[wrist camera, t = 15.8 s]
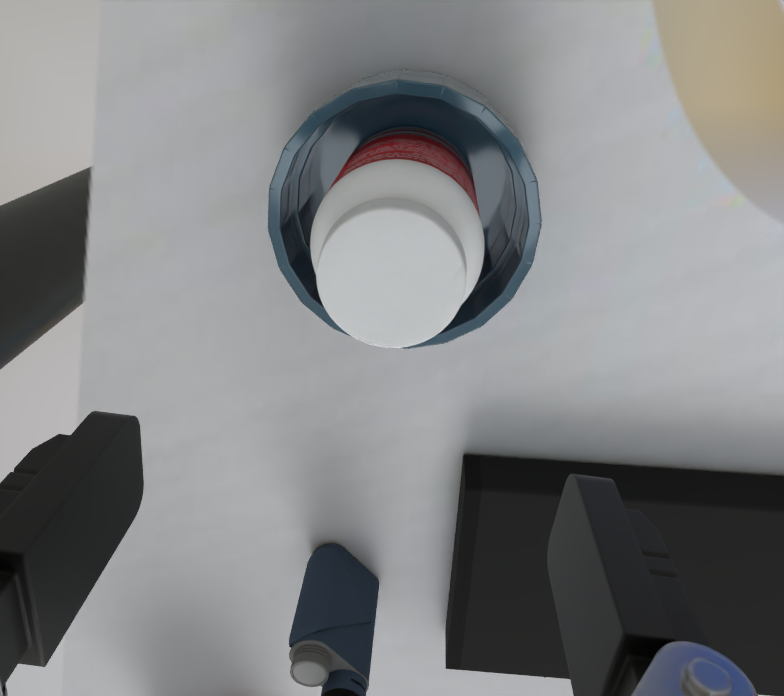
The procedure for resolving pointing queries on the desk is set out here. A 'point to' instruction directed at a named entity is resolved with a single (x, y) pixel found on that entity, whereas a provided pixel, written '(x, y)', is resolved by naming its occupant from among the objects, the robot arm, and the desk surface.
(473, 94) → the blue-grey round tub
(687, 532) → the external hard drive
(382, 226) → the pill bottle
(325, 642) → the vaping device
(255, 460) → the desk surface
